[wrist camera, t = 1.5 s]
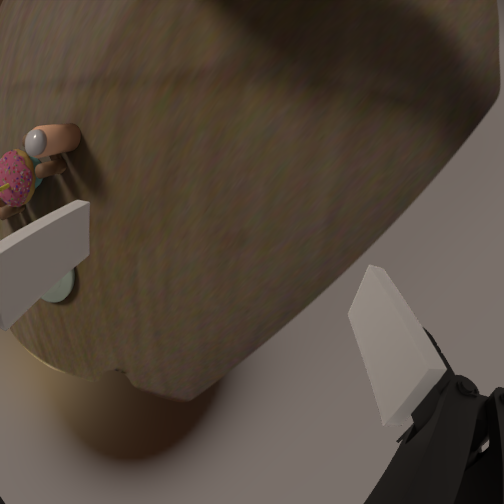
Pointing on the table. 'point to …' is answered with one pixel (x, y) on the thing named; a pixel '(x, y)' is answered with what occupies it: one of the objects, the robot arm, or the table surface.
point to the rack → (41, 171)
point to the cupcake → (18, 177)
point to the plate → (60, 288)
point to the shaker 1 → (2, 203)
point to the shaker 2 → (52, 139)
